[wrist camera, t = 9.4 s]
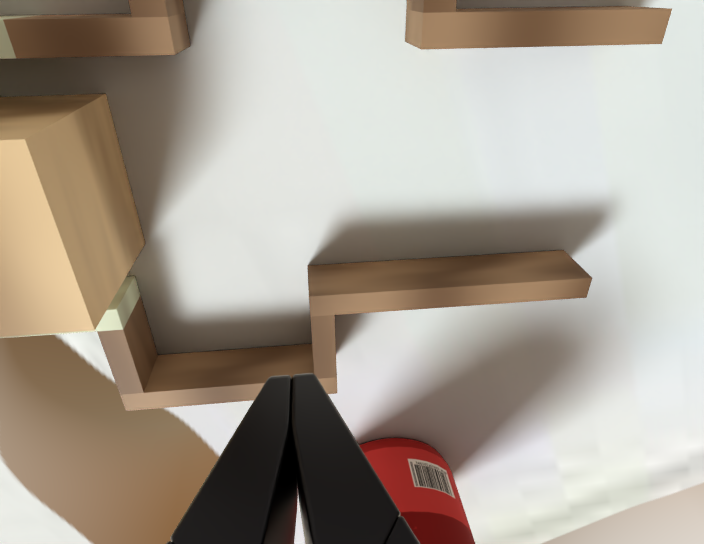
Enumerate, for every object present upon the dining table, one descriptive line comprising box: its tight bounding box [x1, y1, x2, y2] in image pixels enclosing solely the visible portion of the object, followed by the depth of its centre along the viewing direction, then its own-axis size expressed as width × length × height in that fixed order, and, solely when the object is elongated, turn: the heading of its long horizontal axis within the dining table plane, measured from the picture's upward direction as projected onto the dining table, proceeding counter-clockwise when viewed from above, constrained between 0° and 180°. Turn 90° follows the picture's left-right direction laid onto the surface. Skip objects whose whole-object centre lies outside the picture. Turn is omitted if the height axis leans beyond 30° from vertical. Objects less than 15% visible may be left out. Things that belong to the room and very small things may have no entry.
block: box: [0, 94, 145, 337], centre depth 16 cm, size 6×6×6 cm
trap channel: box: [0, 0, 672, 411], centre depth 18 cm, size 28×20×2 cm
